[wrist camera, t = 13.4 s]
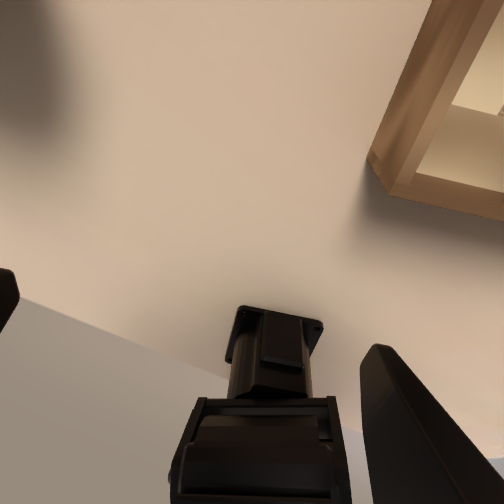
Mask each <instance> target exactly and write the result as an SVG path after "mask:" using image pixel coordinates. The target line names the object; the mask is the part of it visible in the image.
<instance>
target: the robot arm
mask: <svg viewBox="0 0 504 504" xmlns="http://www.w3.org/2000/svg"><path fill="white" fill-rule="evenodd" d="M19 299H20V293H19V289H18V286H17V282H16V279H15V275H14V273H13V272H12V271H11V270H9V269H4V268H0V333H1V331H2V329H3V328H4V326H5V325H6V323H7V321H8V320H9V318H10V316H11V314H12V313H13V311H14V310H15V308H16V306H17V304H18V302H19ZM243 312H246V313H243ZM323 329H324V328H323V323H322V322H321V321H319V320H314V319H309V318H304V317H299V316H294V315H289V314H284V313H280V312H275V311H270V310H265V309H260V308H255V307H250V306H245V305H242V306H239V307H238V309H237V313H236V316H235V320H234V324H233V328H232V332H231V336H230V340H229V344H228V348H227V351H226V355H225V361H226V362H227V363H229V364H232V366H231V373H230V380H229V387H228V394H227V399H208V398H207V397H199V398H198V400H197V402H196V405H195V407H194V409H193V410H192V413H191V415H190V418H189V420H188V423H187V425H186V428H185V430H184V433H183V435H182V438H181V440H180V443H179V445H178V448H177V450H176V453H175V455H174V458H173V460H172V464H171V469H170V471H169V474H168V482H169V484H170V503H171V504H352V498H351V488H350V479H349V472H348V464H347V457H346V451H345V446H344V440H343V435H342V430H341V424H340V418H339V413H338V407H337V402H336V397H335V396H327V398H313V394H312V382H311V369H310V356H311V354H312V352H313V350H314V348H315V346H316V344H317V342H318V340H319V338H320V336H321V334H322V332H323ZM360 389H361V412H362V429H363V437H364V444H365V451H366V457H367V464H368V470H369V477H370V484H371V490H372V497H373V503H374V504H504V479H503V478H502V477H501V476H500V475H499V473H498V472H497V471H496V470H495V469H494V467H493V466H492V465H491V464H490V463H489V462H488V460H487V459H486V458H485V457H484V456H483V454H482V453H481V452H480V451H479V450H478V448H477V447H476V446H475V445H474V444H473V443H472V441H471V440H470V439H469V438H468V437H467V435H466V434H465V433H464V432H463V431H462V430H461V428H460V427H459V426H458V425H457V424H456V422H455V421H454V420H453V419H452V418H451V417H450V415H449V414H448V413H447V412H446V411H445V409H444V408H443V407H442V406H441V405H440V403H439V402H438V401H437V400H436V399H435V398H434V396H433V395H432V394H431V393H430V392H429V390H428V389H427V388H426V387H425V386H424V385H423V383H422V382H421V381H420V380H419V379H418V377H417V376H416V375H415V374H414V373H413V372H412V370H411V369H410V368H409V367H408V366H407V364H406V363H405V362H404V361H403V360H402V359H401V357H400V356H399V355H398V354H397V353H396V351H395V350H394V349H393V348H392V347H390V346H387V345H382V344H374V345H372V347H371V348H370V350H369V351H368V353H367V354H366V356H365V357H364V359H363V360H362V362H361V365H360Z"/></svg>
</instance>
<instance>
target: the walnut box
mask: <svg viewBox="0 0 504 504" xmlns="http://www.w3.org/2000/svg"><path fill="white" fill-rule="evenodd" d="M503 105H504V0H433V1H432V3H431V5H430V8H429V10H428V13H427V15H426V17H425V20H424V22H423V24H422V27H421V29H420V32H419V34H418V36H417V39H416V41H415V44H414V46H413V48H412V51H411V53H410V55H409V58H408V60H407V63H406V65H405V67H404V70H403V72H402V74H401V77H400V79H399V82H398V84H397V86H396V89H395V91H394V93H393V96H392V98H391V101H390V103H389V105H388V108H387V110H386V113H385V115H384V117H383V120H382V122H381V124H380V127H379V129H378V132H377V134H376V136H375V139H374V141H373V143H372V146H371V148H370V151H369V153H368V155H367V160H368V162H369V163H370V165H371V167H372V169H373V170H374V172H375V174H376V175H377V177H378V179H379V180H380V182H381V184H382V185H383V187H384V189H385V190H386V192H387V194H388V195H390V196H394V197H398V198H403V199H407V200H412V201H416V202H420V203H425V204H429V205H433V206H438V207H442V208H446V209H451V210H455V211H460V212H464V213H468V214H473V215H477V216H481V217H486V218H490V219H494V220H499V221H503V222H504V111H500V110H501V108H502V107H503Z"/></svg>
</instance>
